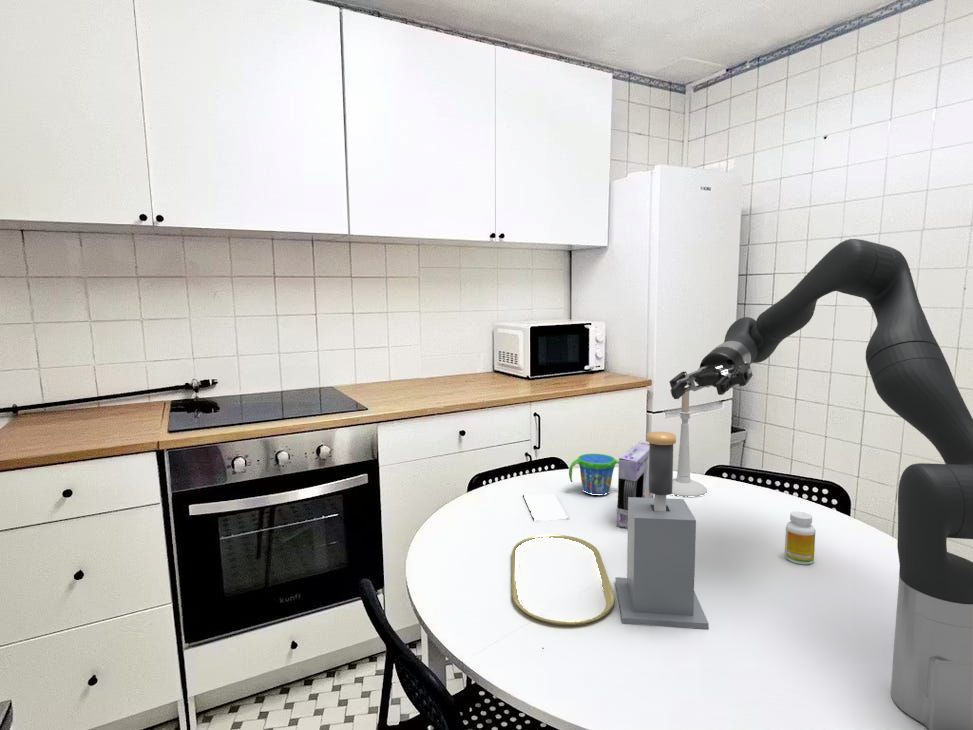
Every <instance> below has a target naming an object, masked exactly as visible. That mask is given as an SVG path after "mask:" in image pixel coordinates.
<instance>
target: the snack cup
mask: <svg viewBox="0 0 973 730" xmlns="http://www.w3.org/2000/svg"><path fill="white" fill-rule="evenodd" d="M616 464H618V465H619V460H617V459H615V457H613V456H612V455H608V454H605V453H604V454H603V453H585V454H581V455H579V456H578V457H577V459H575V460H573V461H572V462H571V464H570V466H569V470H568V476H569V480H570V482H571V483H573V477H572V476H573V467H574V466H575V465H578V466H579V470H580V471H579V472H580V478H581V485H582V486H581V488H582V491H583V490H584V491H586V492H588V493H592V494H605V493H608V492H609V493H610V491H611V485H612V479H613V475H614V470H615V466H616ZM609 493H608V494H609Z"/></svg>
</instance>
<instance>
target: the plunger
mask: <svg viewBox="0 0 973 730" xmlns="http://www.w3.org/2000/svg"><path fill="white" fill-rule="evenodd" d="M646 441H647V442H649V492H650V493H653V494H654V511H666V498H667V496H670V494H672V485H673V479H674V478H673V477H674V475H673V473H674V445H676V443H677V435H676V434H675V433H672V432H668V431H667V432H666V431H651V432H647V434H646Z"/></svg>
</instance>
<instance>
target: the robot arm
mask: <svg viewBox="0 0 973 730" xmlns="http://www.w3.org/2000/svg"><path fill="white" fill-rule="evenodd" d="M833 292H839V293H841V294H842V293H843V294H846V295H848V296H853V297H857V298H862V299H864V300H866V301H867V302H868V304H869V305H870V307H871V308H872V310H873V314H874V316H875V319H876V324H877V326H876V327H875V329H874V331H873V333H872V335H871V337H870V339H869V342H868V344H867V346H866V349H865V362H866V366H867V369H868V373H869V374H870V377H871V378H870V379H871V380H872V382H873V385H874V386H873V387H874V390H876V393H877V394H878V396H879V398H880V399H881V400H882V401H883V402H884V404H885V405H887V407H889V408H890V409H891V410H892V411H893V412H894V413H895V414H897V415H898V416H899V417H900V418H902V419H903V420H904V421H906V422H907V423H908V424H909V425H911V426H912V427H913V428H914V429H916V430H917V431H918V432H919V433H920V434H922V435H923V436H924V437H925V438H926V439H927V441H929V442H930V443H931V444H932V445H933V446H934V447H935V449H936V450H937V452H938V453H939V455H940V456H941V458H942V460H943V462H944V463H929V462H927V463H926V462H923V463H922V462H920V463H911V464H910V465H908V466H907V467H906V468H905V469H904V470H903V471H902V474H901V476H900V480H899V483H898V488H897V545H896V546H897V554H898V562H899V569H898V570H899V572H898V573H899V574H898V587H897V588H898V589H897V590H898V591H897V599H896V600H897V602H896V614H895V627H894V642H893V653H892V669H891V670H892V671H891V683H890V684H891V685H890V696H891V697H890V698H892V700H893V702H894V703H895V705H896V706H897V707H898V708H899V709H900V710H901V711H903V712H904V713H905V714H906V715H908V716H909V717H911V718H912V719H914V720H916V721H917V722H919V723H921V724H922V725H923V726H925V728H927V730H973V561H971V560H969V559H967V558H964V557H962V556H959V555H956V554H955V553H951V552H949V551H948V547H947V546H948V545H947V542H948V541H947V539H960V540H973V417H972V415H971V412H970V411H969V408H968V406H967V404H966V403H965V401H964V398H963V396H962V394H961V393H960V390H959V388H958V385H957V384H956V381H955V379H954V376H953V374H952V371H951V368H950V367H949V364H948V362H947V359H946V358H945V355H944V353H943V351H942V348H941V347H940V345H939V343H938V342H937V340H936V338H935V335H934V334H933V331H932V329H931V327H930V324H929V322H928V319H927V317H926V315H925V313H924V311H923V308H922V306H921V302H920V300H919V297H918V294H917V290H916V286H915V283H914V279H913V275H912V273H911V269H910V267H909V263H908V261H907V259H906V256H905V255H903V254H902V252H901V251H900V250H898V249H897V248H894V247H891V246H890V245H889V246H888V245H884V244H880V243H876V242H874V241H870V240H869V241H868V240H865V239H859V238H849V239H846V240H844V241H840V242H839V243H838V244H837V245H835V246H834V247H833V248H831V249H830V250H829V251H828V252H827V253H826V254H825V255H824V256H823V257H822V258H821V259H820V260H819V261H818V262H817V263H816V264H815V265H814V266H813V267H812V269H810V270H809V272H808V273H807V274H805V276H804V277H803V278H802V279H801V280H800V281H799V282H798V283H797V284H796V285H795V286H794V287H793V288H792V289H791V291H790V292H788V293H787V294H786V295H784V297H782V298H781V299H780V300H779V301H777V302H775V303H774V304H772V305H771V306H770V307H769V308H766V310H764V311H763V312H761V313H760V314H759V315H758V316H757V318H756V319H754V318H752V317H747V316H745V317H740V318H738V319H737V320H735V321H734V322H732V324H730V326H729V328H728V329H727V331H726V333H725V336H724V337H725V338H724V341H723V342H722V343H721V344H719V345H717V346H716V347H715V348H714V349H712V350H711V351H710V352H709V353H708V354H707V355H705V356H704V357H703V358H702V360H701V362H700V364H699V367H698V369H697V370H695V371H692V372H690V373H687V371H681V372H680V373H678V374H677V375H675V376H674V377H672V379H670V380H669V386H670V388H671V389H670V393H671V397H672V398H673V400H679V399H680V398H682V395H683V394H684V393H685V392H688V391H689V392H691V391H692V392H697V391H699V390H701V389H704V388H711V387H714V388H716V392H717V394H718V395H719V396H722V395H725V394H726V392H728V391H729V390H730V389H734V388H735V387H736V385H738V386H739V387H744V386H746V385H747V384H748V383H749V381H751V379H752V377H753V372H752V369H751V364H753V363H754V364H759V363H762V362H764V361H766V360H767V359H769V358H770V357H771V355H773V353H774V352H775V350H776V349H777V347H778V346H779V345H780V343H782V341H784V340H785V339H787V338H788V337H790V336H791V335H793V334H795V333H797V332H798V331H799V330H801V329H803V328H804V327H805V326H807V324H808V323H810V321H811V320H812V317H814V314H815V310H816V305H817V302H818V300H819V299H821V298H823V297H825V296H826V295H829V294H831V293H833ZM696 384H697V385H696ZM685 387H686V388H685Z"/></svg>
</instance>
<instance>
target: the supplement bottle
mask: <svg viewBox="0 0 973 730" xmlns="http://www.w3.org/2000/svg"><path fill="white" fill-rule="evenodd" d="M789 515H790V517H789V520H790V521H788V522H787V523H786V526H785V541H784V558H785V559H787V560H788V561H789V562H791V563H794V564H796V565H797V564H798V565H812V564H813V563H814V562H815V549H816V548H815V547H816V528H815V526H814V525H812V523H813V516H812V514H810V513H806V512H803V511H792V512H790V514H789Z"/></svg>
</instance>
